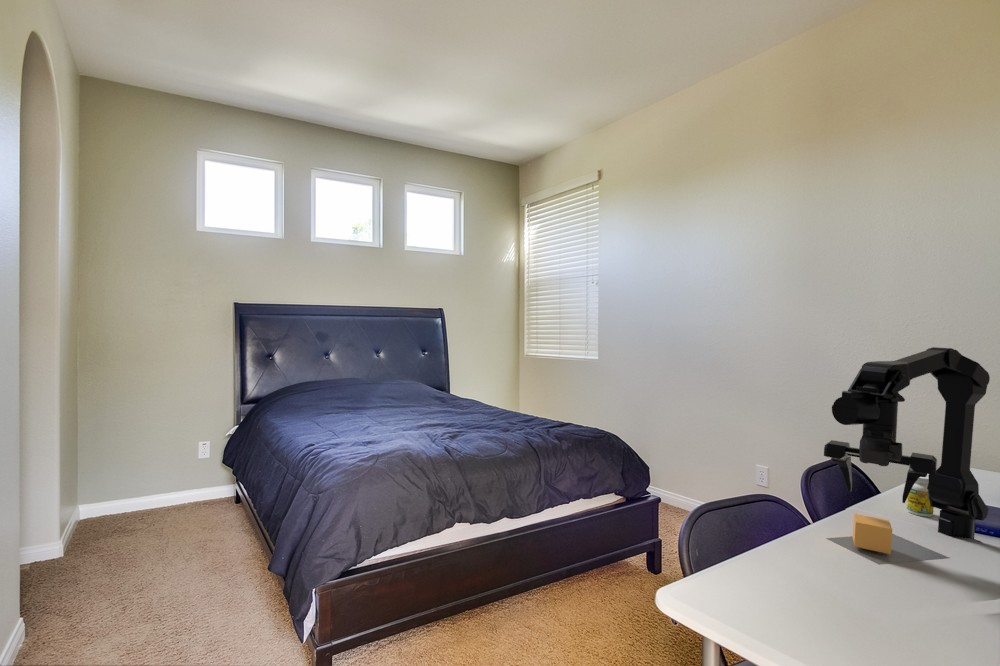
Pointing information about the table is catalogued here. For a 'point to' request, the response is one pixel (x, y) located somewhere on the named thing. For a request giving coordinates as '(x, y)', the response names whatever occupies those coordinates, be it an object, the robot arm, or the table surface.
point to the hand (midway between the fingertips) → (876, 496)
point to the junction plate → (899, 551)
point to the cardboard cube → (872, 533)
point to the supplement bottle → (920, 499)
